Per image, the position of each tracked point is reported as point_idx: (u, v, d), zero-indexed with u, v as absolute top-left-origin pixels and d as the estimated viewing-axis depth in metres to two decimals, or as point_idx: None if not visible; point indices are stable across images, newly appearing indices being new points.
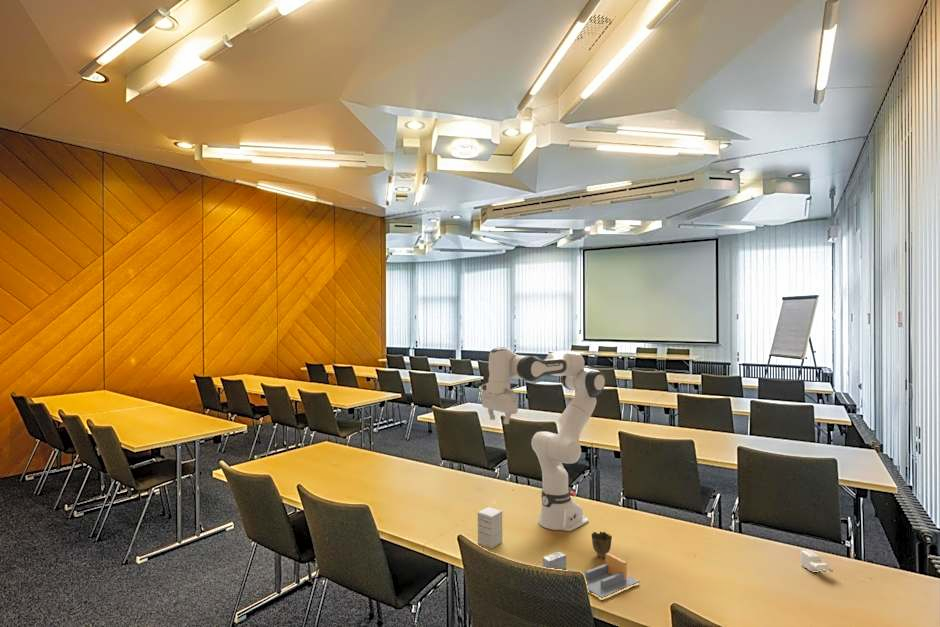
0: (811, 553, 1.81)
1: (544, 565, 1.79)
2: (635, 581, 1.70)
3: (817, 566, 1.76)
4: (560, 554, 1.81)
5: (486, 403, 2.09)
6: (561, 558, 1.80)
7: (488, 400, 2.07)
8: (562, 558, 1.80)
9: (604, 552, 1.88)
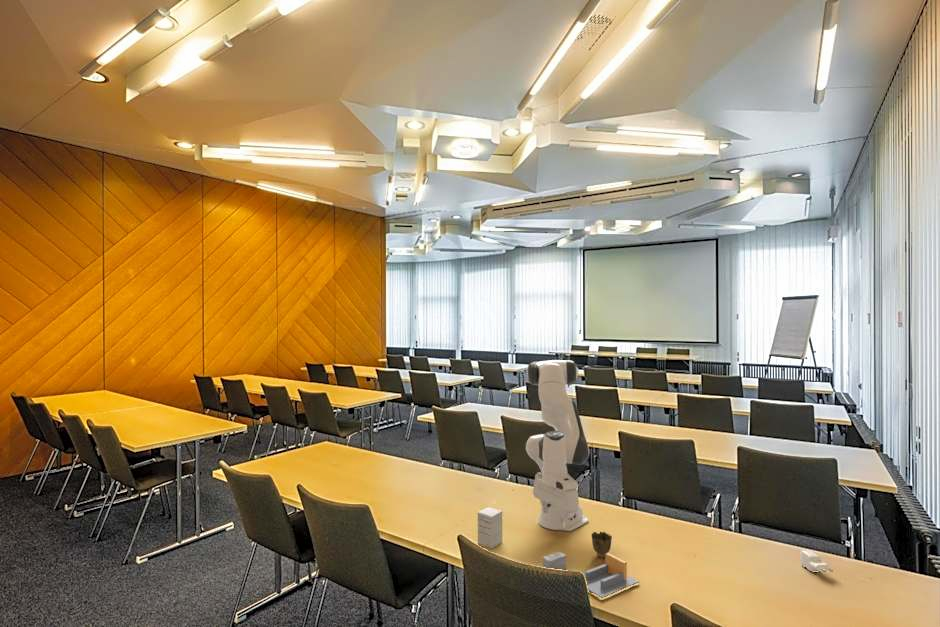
0: (811, 553, 1.81)
1: (544, 565, 1.79)
2: (635, 581, 1.70)
3: (817, 566, 1.76)
4: (560, 554, 1.81)
5: None
6: (561, 558, 1.80)
7: None
8: (562, 558, 1.80)
9: (604, 552, 1.88)
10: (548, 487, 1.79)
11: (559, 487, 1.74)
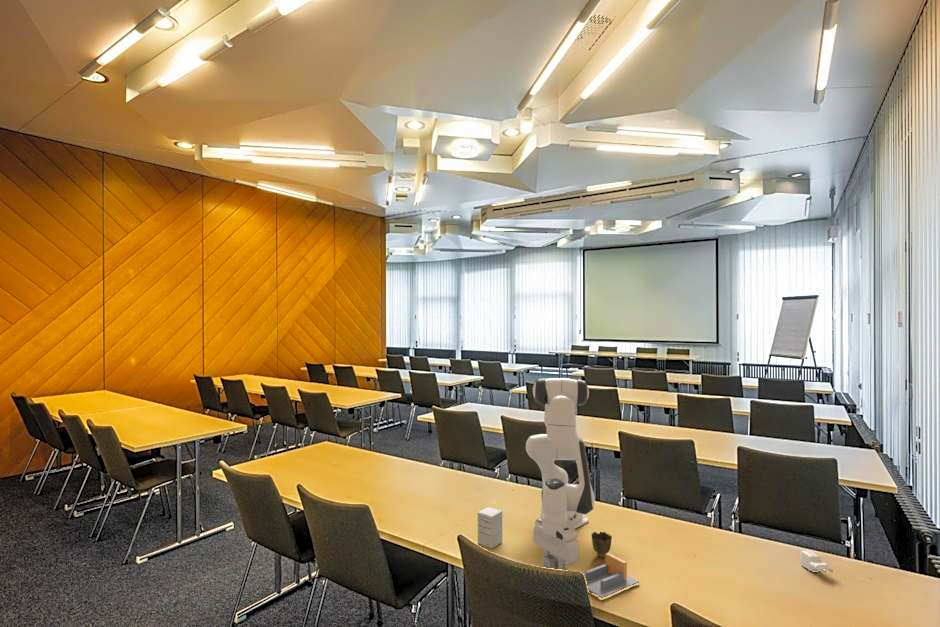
0: (811, 553, 1.81)
1: (544, 565, 1.79)
2: (635, 581, 1.70)
3: (817, 566, 1.76)
4: None
5: None
6: None
7: None
8: None
9: (604, 552, 1.88)
10: (548, 536, 1.78)
11: (559, 537, 1.74)
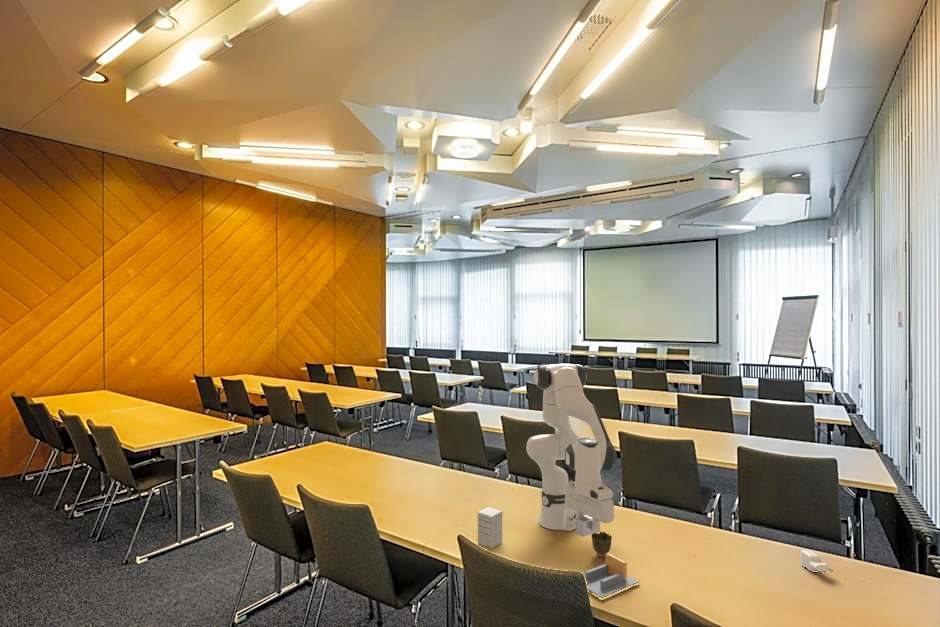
0: (811, 553, 1.81)
1: (577, 526, 1.72)
2: (635, 581, 1.70)
3: (817, 566, 1.76)
4: None
5: None
6: None
7: None
8: None
9: (604, 552, 1.88)
10: (581, 496, 1.72)
11: (594, 496, 1.67)
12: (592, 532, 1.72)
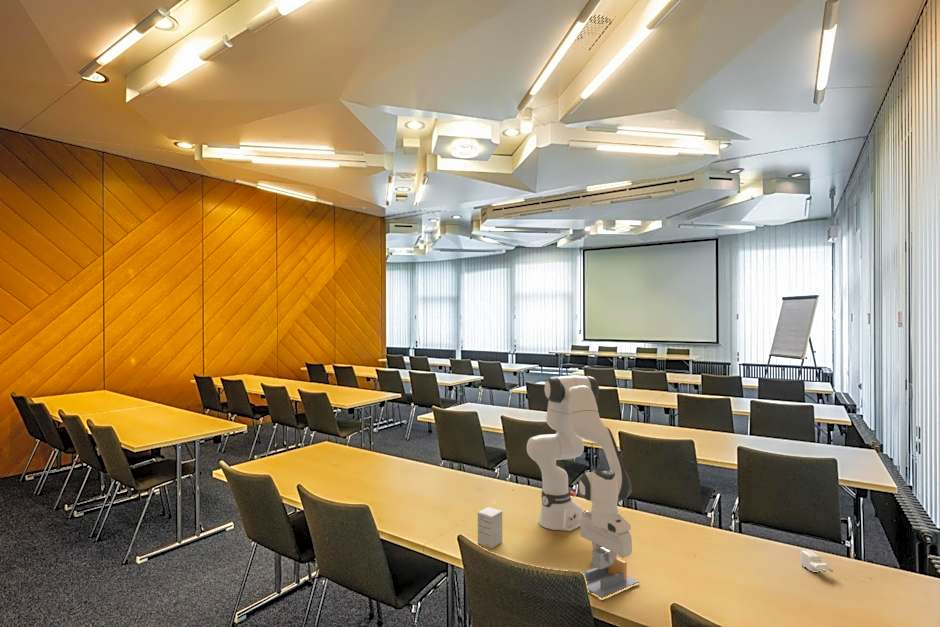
0: (811, 553, 1.81)
1: (594, 559, 1.70)
2: (635, 581, 1.70)
3: (817, 566, 1.76)
4: None
5: None
6: None
7: None
8: None
9: None
10: (598, 528, 1.69)
11: (611, 530, 1.65)
12: (609, 564, 1.70)
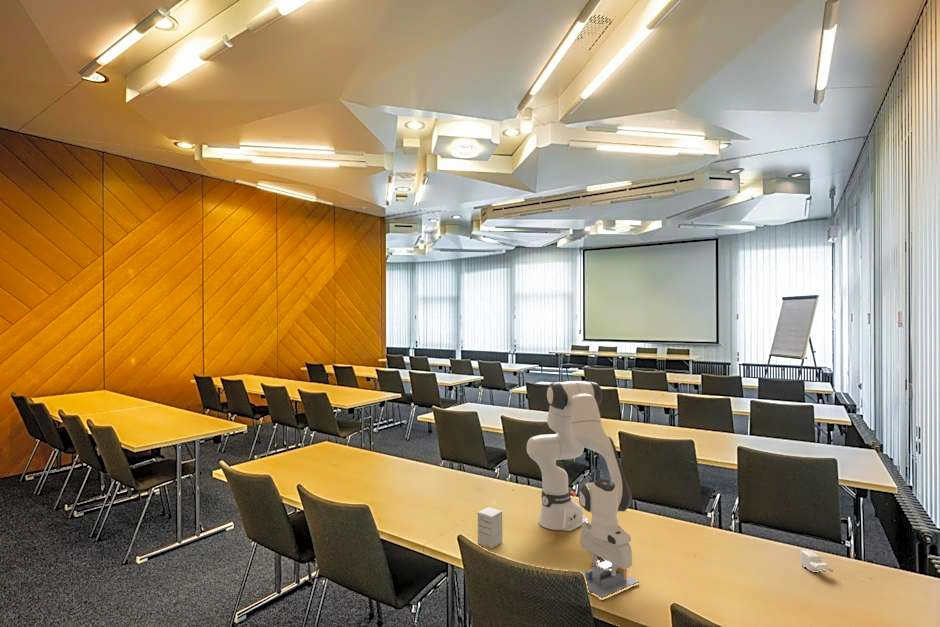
0: (811, 553, 1.81)
1: (594, 574, 1.70)
2: (635, 581, 1.70)
3: (817, 566, 1.76)
4: (609, 563, 1.73)
5: None
6: (611, 567, 1.71)
7: None
8: (612, 567, 1.71)
9: None
10: (598, 540, 1.69)
11: (611, 541, 1.65)
12: None
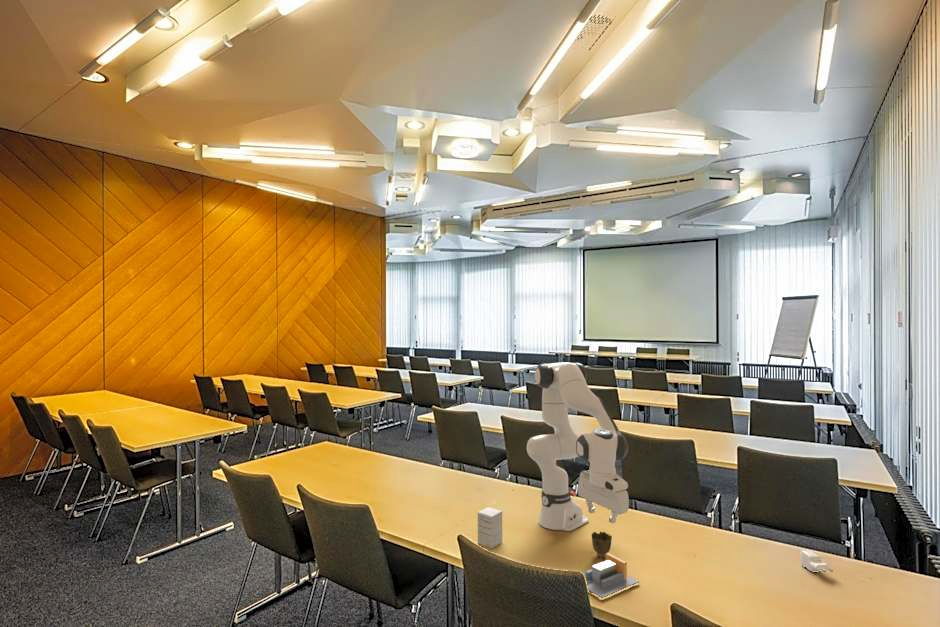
0: (811, 553, 1.81)
1: (594, 574, 1.70)
2: (635, 581, 1.70)
3: (817, 566, 1.76)
4: (609, 563, 1.73)
5: None
6: (611, 567, 1.71)
7: None
8: (612, 567, 1.71)
9: (604, 552, 1.88)
10: (596, 487, 1.72)
11: (609, 488, 1.67)
12: None
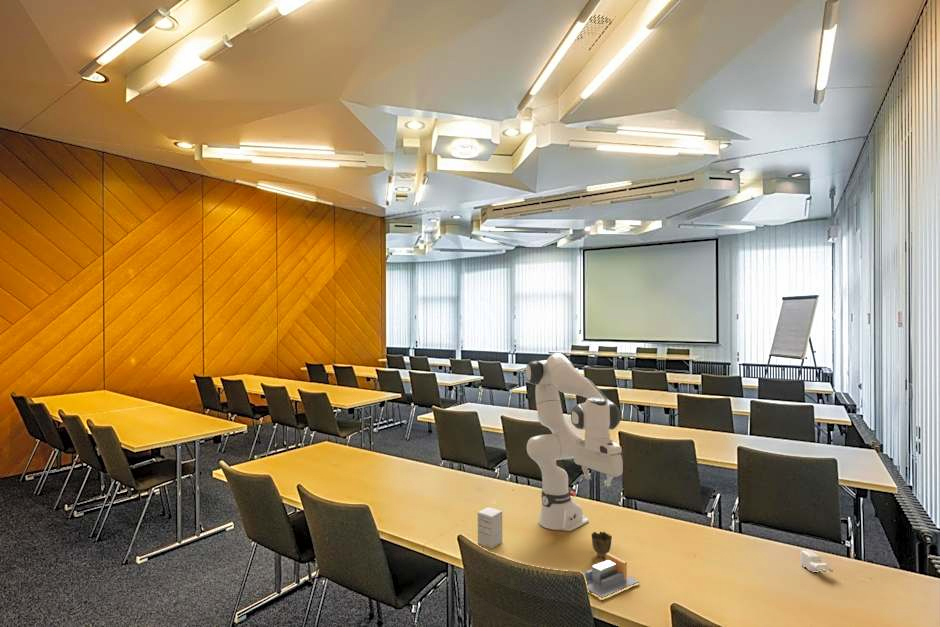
0: (811, 553, 1.81)
1: (594, 574, 1.70)
2: (635, 581, 1.70)
3: (817, 566, 1.76)
4: (609, 563, 1.73)
5: None
6: (611, 567, 1.71)
7: None
8: (612, 567, 1.71)
9: (604, 552, 1.88)
10: (591, 452, 1.79)
11: (603, 451, 1.74)
12: None
